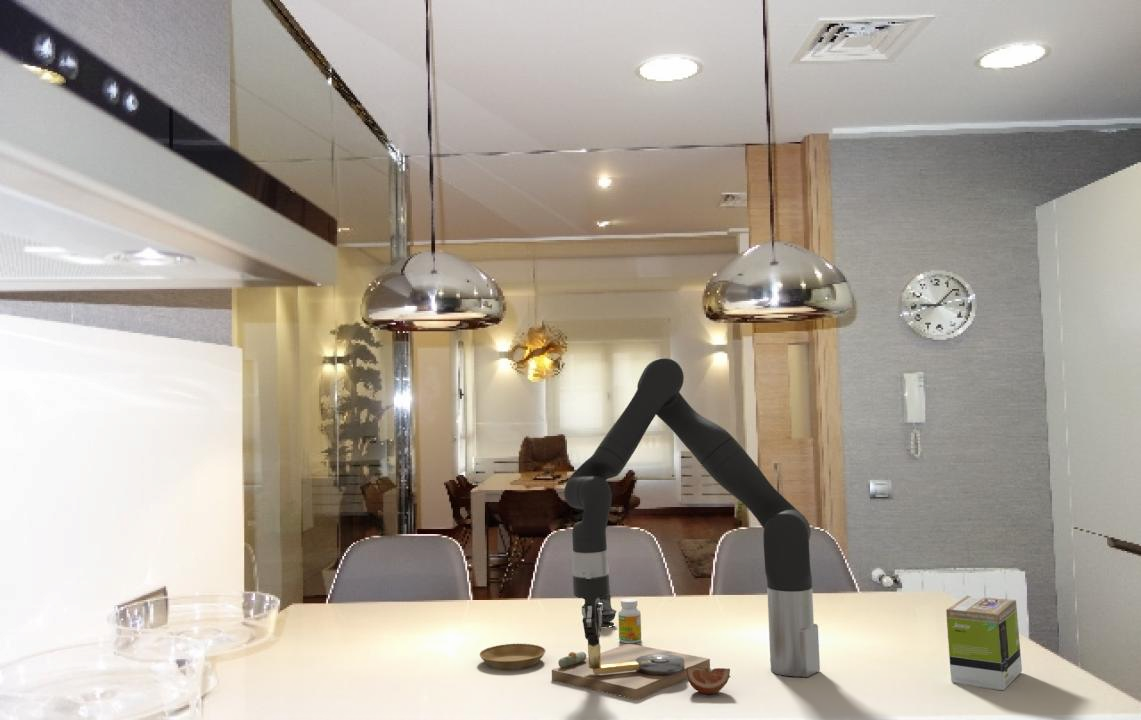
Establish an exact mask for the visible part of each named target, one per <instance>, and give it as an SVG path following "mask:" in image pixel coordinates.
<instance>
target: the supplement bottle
mask: <svg viewBox="0 0 1141 720" xmlns="http://www.w3.org/2000/svg"><path fill="white" fill-rule="evenodd" d="M638 605H639V604H638V599H636V598H623V599H621V600H620V606H621V608H620V609H619V610H618V638H619V639H618V640H619V642H620V641H621V643H622V642H624V643H623V644H636V643H635V642H638V643H640V642H641V641H642V615H641V610H640V609H639V608H637V607H638ZM639 641H640V642H639Z"/></svg>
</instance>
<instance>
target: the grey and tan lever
mask: <svg viewBox="0 0 1141 720" xmlns="http://www.w3.org/2000/svg"><path fill="white" fill-rule="evenodd" d="M588 650H589V656H588V657H589V668H591V669H593V673H594V674H595V675H598V674H607V673H616V672H626V671H635V670H638V671H639V672H642V673H646V674H653V675H668V674H675V673H679V672H681V671H683V670H684V669H685V663H684V659H683V658H682V657H680V656H676V655H671V654H649V655H644V656H641V657H638V658H637V659H636V661H635V662H626V663H616V664H607V665H601V655H600V653H601V644H600V643H599V644H596V643H594V644H589V645H588V644H587V651H588Z"/></svg>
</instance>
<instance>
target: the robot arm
mask: <svg viewBox="0 0 1141 720" xmlns="http://www.w3.org/2000/svg"><path fill="white" fill-rule="evenodd" d="M683 385H684V372H683V369H682V366H681V365H680V364H679V363H678V362H677V361H675V360H674V359H671V358H669V357H659V358H656V359H654V360H652V361H651V362H649V363H648V364H647V365H646V367H645V368H644V369H643V371H642V373H641V374H640V377H639V379H638V382H637V386H636V388H637V390H636V391H635V393H634V395H633V396H632V398H631V400H630V402H629V403H628V405H627V406H626V408H625V409H624V411H623V412H622V413H621V414H620V416H619V417H618V419H617V420H616V421H615V423H614V424H613V425H612V427H611V428H610V429H609V431H608V432H607V433H606V435H605V436H604V437H603V439H602V440H601V442H600V443H599V445H598V446H597V448H596V449H595V451H594V452H593V454H592V455H591V456H590V457H589V458H587V459H586V460H585V461H584V462H583V463H582V464H581V465H580V466H579V467H578V468H577V469H576V470H575V471H574V472H573V473H572V474H570V477H569V478H568V479H567V481H566V484H565V486H564V491H563V494H564V500H565V502H566V503H567V504H568V505H569V507H571V508H573V509H579V510H583V514H582V518H581V519H582V520H581V521H577V522H576V523H574V524H573V526H572V534H571V535H572V560H571V561H572V562H571V564H572V565H571V566H572V586H573V587H572V591H573V593H572V594H573V595H574V597H576V598H577V599H583V600H584V603H583V605H581V615H582V620H581V621H582V624H583V630H584V638H585V640H587V646H588V645H589V644H594V643H596V644H600V637H601V633H600V632H601V631H602V628H601V624H602V610H603V605H602V603H599V598H603V597H606V596H608V595H609V593H610V594H611V587H610V588H609V585H610V570H609V557H608V551H607V550H608V549H607V547H608V546H607V530H606V529H607V525H608V522H609V517H610V512H611V507H612V500H613V498H612V497H613V496H612V494H613V493H612V490H611V487H610V484H609V482H608V481H607V480H609V479H613V478H615V477H618V476H619V475H620V474H621V472H623V470H624V468H625V467H626V465H627V463H628V462H629V460H631V457H633V454H634V453H635V451H636V449H637V448H638V446H639V444H640V443H641V441H642V439H643V438H644V435H645V434H646V431H647V429H648V428H649V426H650V425H651V423H652V422H653V420H654V418H655V417H656V416H657V417H658V418H659V419H660V420H661V421H663V423H664V424H666V426H667V427H669V429H671V430H672V431H673V433H674V434H675V435H676V437H678V438H679V440H680V441H681V442H682V443H683V445H684V446H685V447H686V448H687V450H689V451H690V453H691V454H692V455H693V456H694V457H695V459H696V460H697V461H698V463H699V464H700V465H701V466H702V468H703V469H704V470H705V471H706V472H707V473H708V475H710V477H712V479H713V480H714V481H715V482H716V483H717V484H718V485H720V486H721V487H722V488H723V489H725V491H727V492H728V493H729V494H730V495H732V496H733V497H734V498H736V499H737V500H738V501H740V502H741V503H742V504H743V505H744V506H745V507H746V508H747V509H748V511H750V513H751V514H752V515H753V516H754V517H755V519H756V520H757V521H758V523H759V525H761V528H763V533H762V534H763V535H762V536H763V556H764V559H763V560H764V570H765V571H764V572H765V577H766V584H767V588H766V589H767V591H766V592H767V610H768V611H767V612H768V613H767V614H768V632H769V633H768V634H769V636H768V637H769V639H768V640H769V641H768V642H769V656H770V658H769V661H770V671H771V672H773V674H777V675H781V676H785V677H802V678H803V677H804V678H808V677H810V676H813V675H814V674H817V673H818V672H820V671H821V664H820V661H821V660H820V645H819V644H820V643H819V641H820V640H819V626H818V624H817V623H815V622H814V620H815V619H814V618H815V617H814V600H813V596H814V595H813V576H812V571H811V570H812V569H811V560H810V559H811V558H810V557H811V555H810V538H811V532H812V531H811V526H810V523H809V521H808V519H807V518H806V516H805V515H803V513H801V512H800V511H799V509H797V508H796V507H795V506H793V505H792V503H791V502H789V501H788V500H787V499H786V498H785V497H784V496H783V495H782V494H781V493H780V492H779V491H778V490H777V489H776V488H775V487H774V486H773V484H771V483H770V481H769V480H768V479H767V478H766V477H767V476H765V474H764V473H763V472H762V470H761V469H760V468H759V466H758V465H757V463H755V461H754V460H753V459H752V458H751V456H750V455H749V454H748V453H747V451H746V450H745V449H744V448H743V446H742V445H740V443H739V442H738V441H737V440H736V438H734V437H733V436H732V434H730V433H729V432H728V431H727V430H726V429H725V428H724V427H722V426H720V425H719V424H717V423H715V422H713V421H711V420H710V419H708V418H706V417H704V416H702V414H700V413H698V412H697V411H696V410H695V409H694V408H693V407H692V406H691V405H690V404H689V403H688V402H687V400H686V399H685V398H684V397H683V395H682V394H681V393H680V391H681V390H682V388H683ZM587 652H588V653H587V654H588V656H587V657H589V650H588V649H587Z"/></svg>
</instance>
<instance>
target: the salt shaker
mask: <svg viewBox="0 0 1141 720" xmlns="http://www.w3.org/2000/svg"><path fill="white" fill-rule="evenodd" d="M609 588H610V589H611V586H610V584H609ZM611 598H612V595H611V592H610V593H609V595H608V596H606V597H603V598H599V603H602V605H603V610H602V624H601V627H609V626H613V625H614V623H615V622H612V621H614V619H615V617H616V613H617V610H616V609H614V608H612V603H611V602H612V601H611V600H612V599H611Z"/></svg>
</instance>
